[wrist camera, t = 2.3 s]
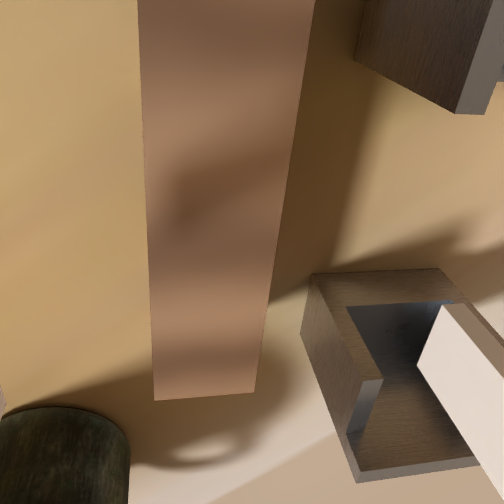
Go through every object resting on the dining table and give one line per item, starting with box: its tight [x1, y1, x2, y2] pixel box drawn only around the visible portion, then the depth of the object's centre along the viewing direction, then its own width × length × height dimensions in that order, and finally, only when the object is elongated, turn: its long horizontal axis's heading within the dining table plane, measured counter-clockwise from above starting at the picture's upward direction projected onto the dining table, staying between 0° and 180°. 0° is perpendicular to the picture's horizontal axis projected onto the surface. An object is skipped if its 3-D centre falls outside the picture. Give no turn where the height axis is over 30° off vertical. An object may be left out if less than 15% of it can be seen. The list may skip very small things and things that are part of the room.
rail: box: [137, 0, 315, 401], centre depth 19 cm, size 18×5×6 cm, turn 174°
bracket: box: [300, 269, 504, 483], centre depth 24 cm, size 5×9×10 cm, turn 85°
